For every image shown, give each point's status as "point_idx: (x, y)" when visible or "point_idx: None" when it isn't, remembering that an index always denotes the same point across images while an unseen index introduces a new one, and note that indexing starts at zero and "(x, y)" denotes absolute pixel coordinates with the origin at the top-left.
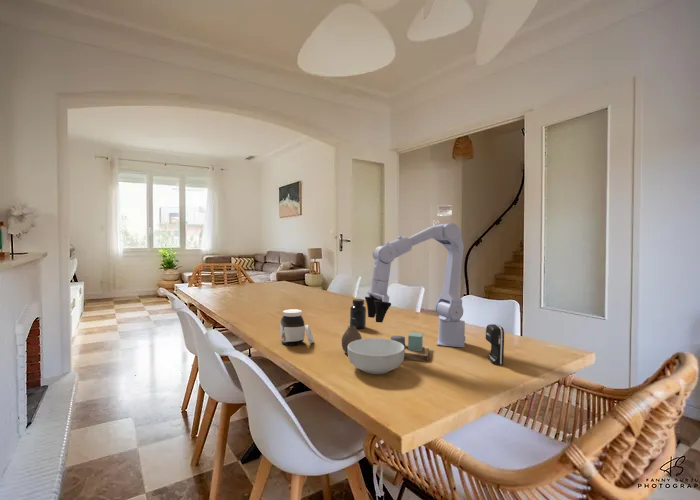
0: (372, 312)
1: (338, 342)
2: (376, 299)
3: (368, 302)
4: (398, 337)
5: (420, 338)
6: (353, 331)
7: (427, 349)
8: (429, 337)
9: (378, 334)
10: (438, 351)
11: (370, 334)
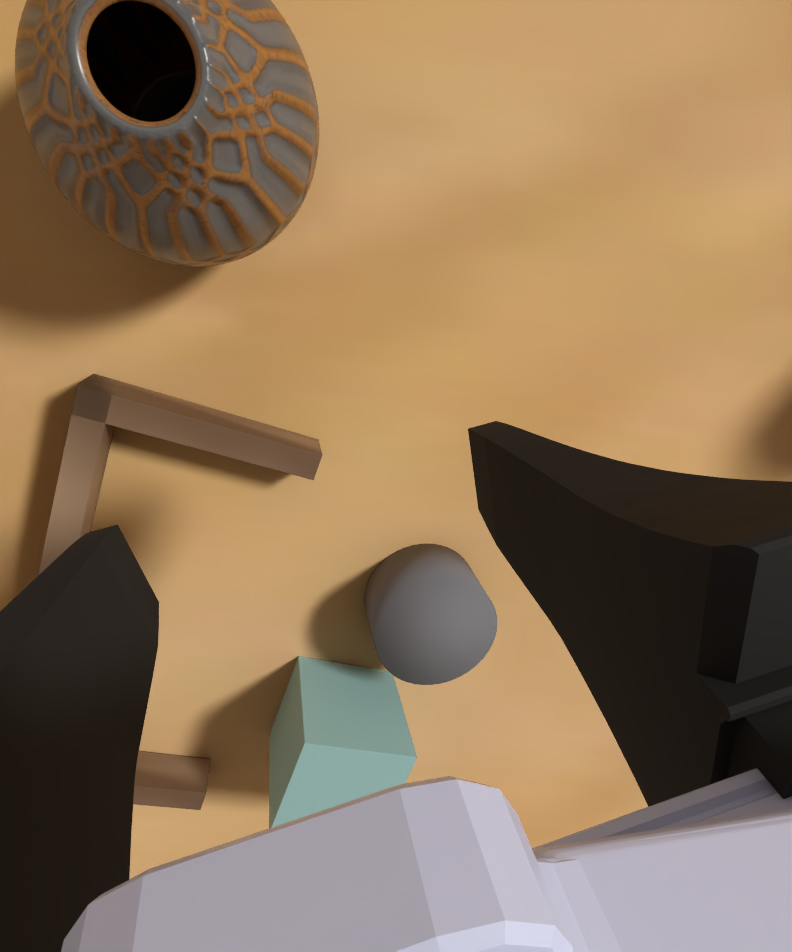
0: (509, 520)
1: (568, 21)
2: (677, 777)
3: (617, 536)
4: (436, 638)
5: (272, 812)
6: (58, 96)
7: (172, 799)
8: (587, 797)
9: (741, 472)
10: (267, 826)
11: (759, 404)
